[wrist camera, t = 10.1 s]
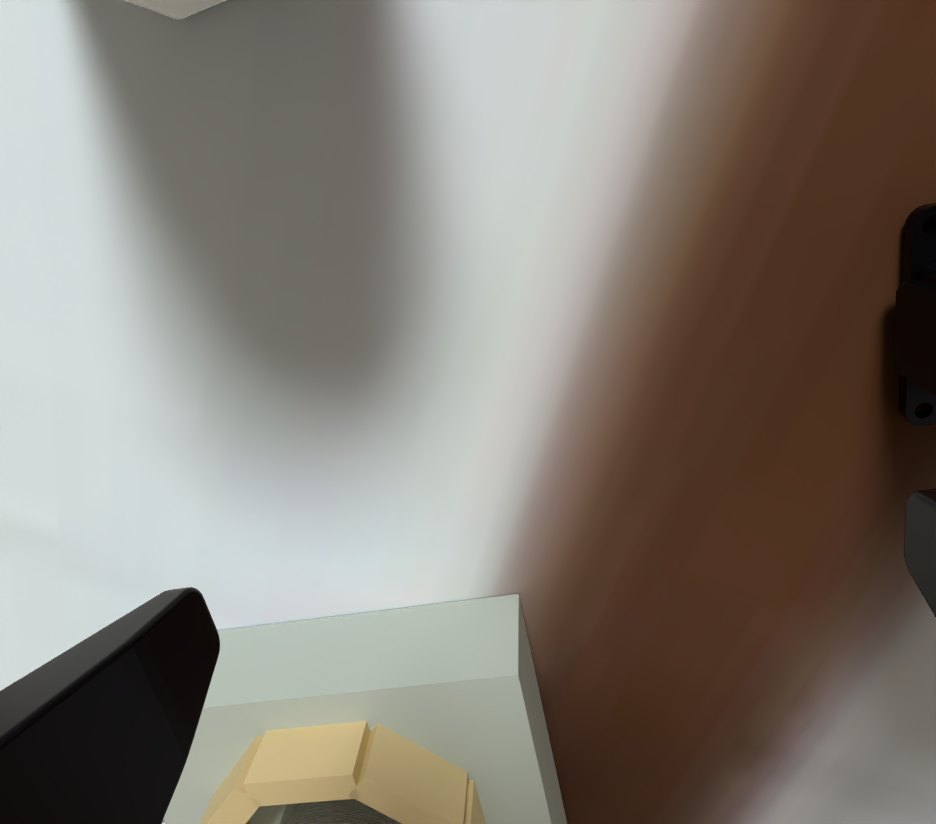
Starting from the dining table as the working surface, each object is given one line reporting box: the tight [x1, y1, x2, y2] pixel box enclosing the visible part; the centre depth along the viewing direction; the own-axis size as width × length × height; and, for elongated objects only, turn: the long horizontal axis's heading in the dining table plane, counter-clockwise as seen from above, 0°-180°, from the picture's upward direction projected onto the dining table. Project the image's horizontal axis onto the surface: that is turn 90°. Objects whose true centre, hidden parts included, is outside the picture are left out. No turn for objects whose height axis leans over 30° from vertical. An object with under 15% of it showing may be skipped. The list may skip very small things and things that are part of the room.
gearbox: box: [162, 594, 567, 824], centre depth 25 cm, size 17×12×6 cm
